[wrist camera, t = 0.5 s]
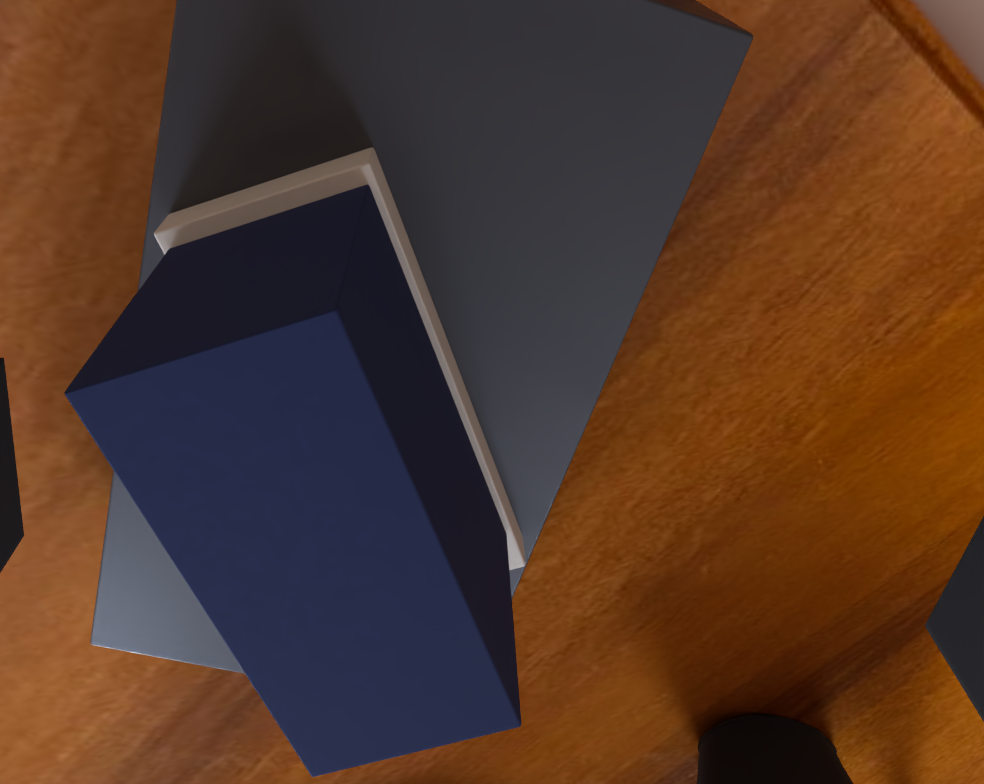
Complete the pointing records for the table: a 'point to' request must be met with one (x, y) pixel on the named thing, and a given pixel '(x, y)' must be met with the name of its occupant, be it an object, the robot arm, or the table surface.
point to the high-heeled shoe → (768, 753)
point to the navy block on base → (317, 465)
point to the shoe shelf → (447, 203)
